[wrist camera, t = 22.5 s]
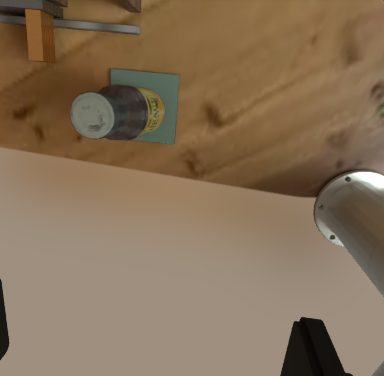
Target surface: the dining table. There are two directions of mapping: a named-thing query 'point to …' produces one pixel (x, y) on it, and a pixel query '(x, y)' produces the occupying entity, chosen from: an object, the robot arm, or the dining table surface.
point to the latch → (36, 25)
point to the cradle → (131, 3)
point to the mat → (166, 91)
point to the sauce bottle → (117, 112)
